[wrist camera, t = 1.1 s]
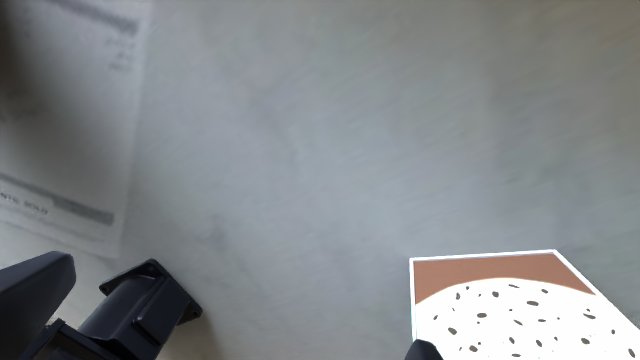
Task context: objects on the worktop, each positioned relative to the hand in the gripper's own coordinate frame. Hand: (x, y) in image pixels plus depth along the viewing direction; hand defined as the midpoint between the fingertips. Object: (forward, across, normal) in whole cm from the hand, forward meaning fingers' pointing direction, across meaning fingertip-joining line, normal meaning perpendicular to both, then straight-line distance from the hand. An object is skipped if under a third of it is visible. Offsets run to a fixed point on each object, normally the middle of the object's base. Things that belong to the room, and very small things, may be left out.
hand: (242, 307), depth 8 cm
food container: (+13, -14, +8) cm, 21 cm away
